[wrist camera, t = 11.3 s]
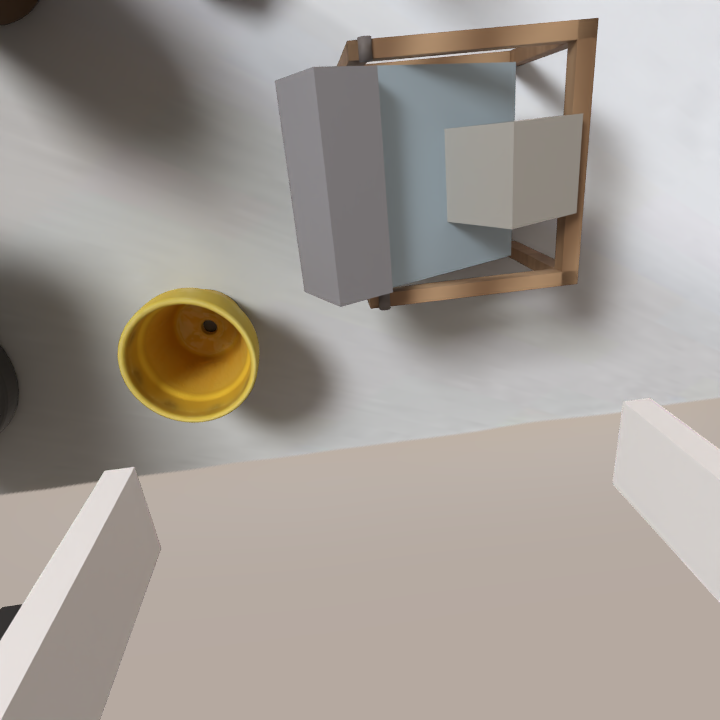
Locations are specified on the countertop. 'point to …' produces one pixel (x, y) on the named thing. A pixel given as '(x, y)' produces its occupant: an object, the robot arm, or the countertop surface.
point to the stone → (513, 171)
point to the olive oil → (15, 10)
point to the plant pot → (189, 355)
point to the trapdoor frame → (578, 100)
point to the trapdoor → (384, 172)
